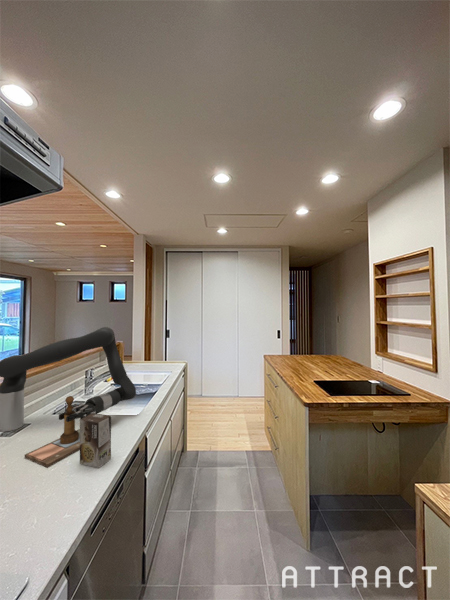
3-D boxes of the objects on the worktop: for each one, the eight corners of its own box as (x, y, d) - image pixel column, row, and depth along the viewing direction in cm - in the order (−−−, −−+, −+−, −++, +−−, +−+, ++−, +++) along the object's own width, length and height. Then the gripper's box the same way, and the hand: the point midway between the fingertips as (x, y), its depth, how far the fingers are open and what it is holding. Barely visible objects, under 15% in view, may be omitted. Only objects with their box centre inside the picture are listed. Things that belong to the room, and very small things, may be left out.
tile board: (24, 457, 100) (24, 453, 100) (88, 427, 124) (88, 424, 124) (47, 467, 94) (47, 462, 94) (109, 433, 118) (109, 430, 118)
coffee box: (111, 458, 99) (112, 415, 100) (98, 468, 93) (98, 422, 93) (92, 454, 102) (93, 412, 102) (78, 463, 96) (79, 419, 96)
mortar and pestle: (70, 445, 106) (70, 399, 106) (56, 443, 107) (56, 398, 107) (82, 436, 112) (82, 394, 112) (68, 435, 114) (68, 393, 114)
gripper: (88, 393, 126) (51, 406, 110) (110, 397, 120) (74, 412, 104) (88, 409, 126) (51, 424, 110) (110, 414, 120) (74, 431, 104)
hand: (63, 418), depth 107 cm, fingers closed on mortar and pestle, 4 cm apart
